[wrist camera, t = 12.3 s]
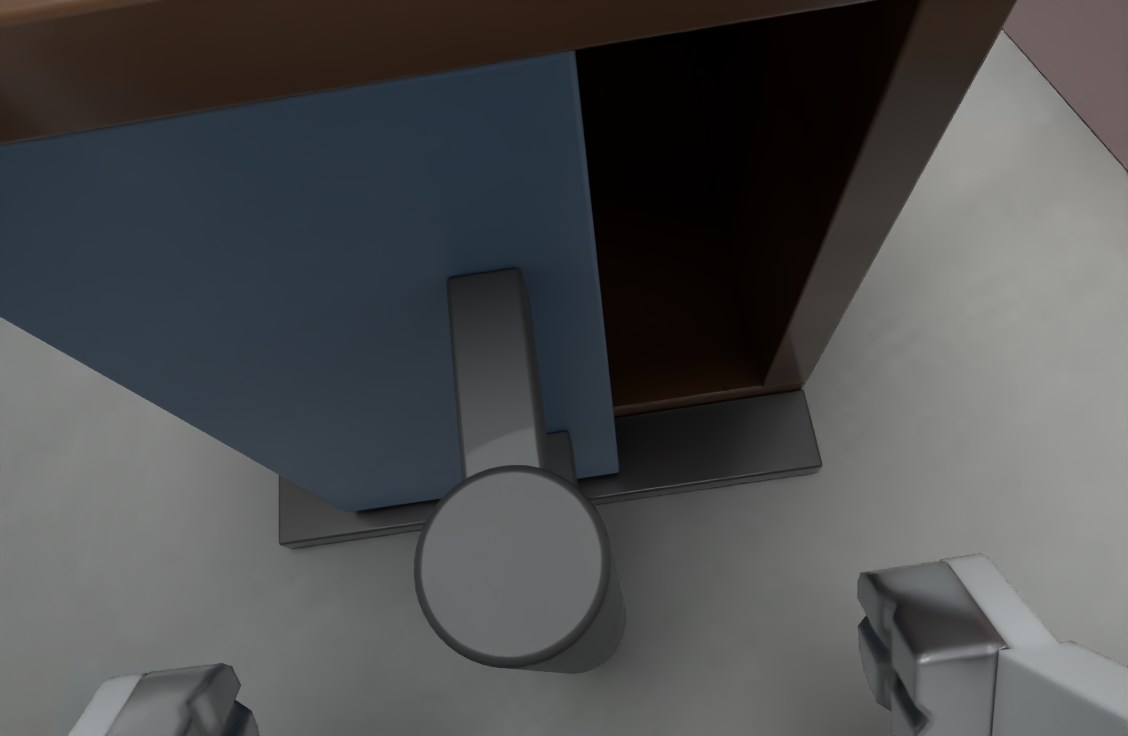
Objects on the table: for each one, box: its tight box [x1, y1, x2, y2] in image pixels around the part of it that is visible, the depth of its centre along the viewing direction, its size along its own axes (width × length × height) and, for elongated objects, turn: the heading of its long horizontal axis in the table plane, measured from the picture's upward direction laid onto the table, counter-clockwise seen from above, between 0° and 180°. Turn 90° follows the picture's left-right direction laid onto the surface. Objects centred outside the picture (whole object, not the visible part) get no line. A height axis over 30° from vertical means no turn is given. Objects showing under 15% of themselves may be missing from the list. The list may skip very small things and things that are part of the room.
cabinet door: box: [0, 50, 626, 674], centre depth 11 cm, size 5×6×13 cm
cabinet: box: [0, 0, 1018, 549], centre depth 14 cm, size 14×12×15 cm
